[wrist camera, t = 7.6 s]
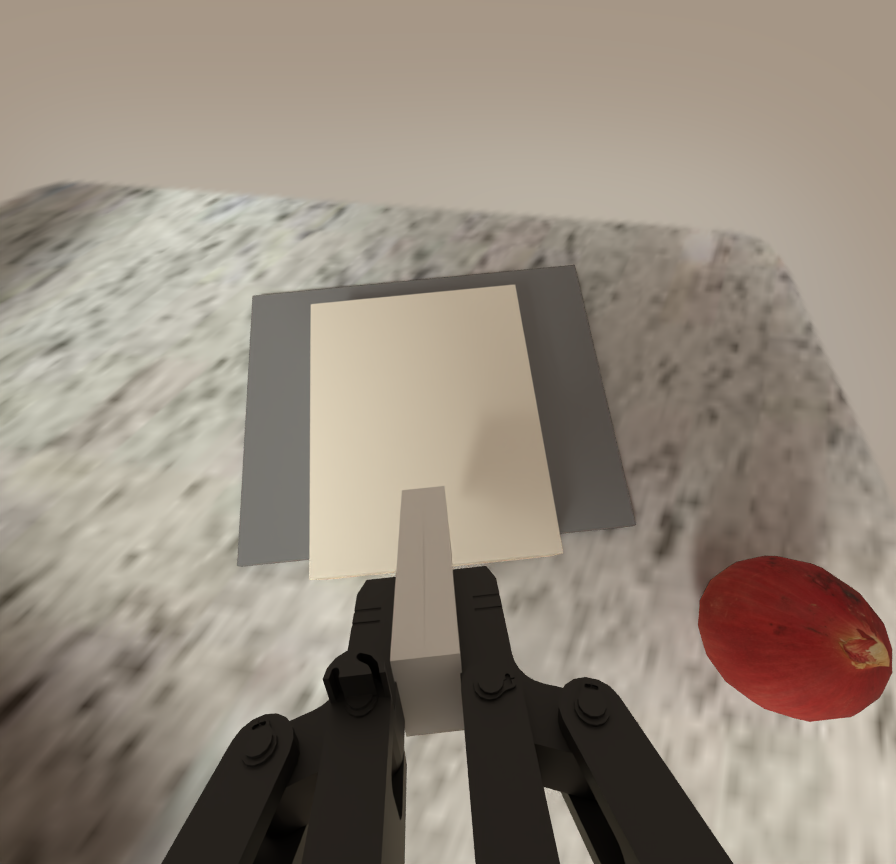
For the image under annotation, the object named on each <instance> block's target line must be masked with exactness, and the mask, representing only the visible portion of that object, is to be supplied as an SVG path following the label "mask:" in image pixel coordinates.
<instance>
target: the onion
mask: <svg viewBox="0 0 896 864" xmlns="http://www.w3.org/2000/svg"><path fill="white" fill-rule="evenodd" d="M698 627H699V631H700V634H701V638H702V641H703V645H704V648H705V651H706V654H707V656H708V658H709V659H710V660H711V662H712V663H713V665H714V666H715V667H716V669H717V670H718V672H719V673H720V674H721V676H722V677H723V678H724V680H725V681H726V682H727V683H728V684H730V685H731V686H733V687H734V688H735V689H737V690H738V691H739V692H741V693H742V694H743V695H745V696H746V697H747V698H749V699H750V700H751V701H753V702H755V703H756V704H758V705H759V706H761V707H763V708H764V709H767V710H770V711H773V712H776V713H780V714H783V715H786V716H789V717H792V718H796V719H800V720H805V721H809V722H812V721H820V720H828V719H837V718H846V717H852V716H854V715H855V714H857V713H859V712H861V711H862V710H863V709H865V708H866V707H867V706H869V705H870V704H872V703H873V702H874V701H876V700H877V699H879V698H880V696H881V695H882V693H883V691H884V689H885V687H886V685H887V683H888V680H889V678H890V676H891V674H892V647H891V644H890V641H889V638H888V635H887V631H886V628H885V625H884V623H883V622H882V620H881V619H880V618H879V617H878V615H877V614H876V613H875V612H874V610H873V609H872V608H871V607H870V605H869V604H868V603H867V602H866V600H865V599H864V598H863V597H862V595H861V594H860V593H859V592H857V591H856V590H854V589H853V588H852V587H850V586H849V585H847V584H846V583H844V582H843V581H841V580H840V579H838V578H837V577H835V576H834V575H832V574H831V573H829V572H828V571H826V570H825V569H823V568H821V567H819V566H816V565H814V564H811V563H807V562H802V561H797V560H792V559H788V558H783V557H778V556H761V557H756V558H752V559H747V560H743V561H738V562H736V563H734V564H732V565H731V566H729V567H728V568H726V569H725V570H724V571H722V572H721V573H719V574H718V575H717V576H715V577H714V578H713V579H711V580H710V582H709V584H708V586H707V588H706V589H705V591H704V593H703V595H702V597H701V599H700V606H699V619H698Z"/></svg>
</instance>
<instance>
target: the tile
mask: <svg viewBox="0 0 896 864" xmlns="http://www.w3.org/2000/svg"><path fill="white" fill-rule="evenodd" d="M438 486H445V494H446V504H447V513H448V522H449V531H450V541H451V550H452V561H453V566H463V565H472V564H482V563H492V562H501V561H511V560H520V559H530V558H539V557H549V556H554V555H558V554H562V553H563V549H562V543H561V537H560V532H559V526H558V521H557V515H556V510H555V504H554V498H553V493H552V487H551V482H550V476H549V471H548V465H547V459H546V454H545V448H544V443H543V437H542V432H541V426H540V420H539V415H538V409H537V404H536V398H535V393H534V387H533V381H532V376H531V370H530V365H529V359H528V353H527V348H526V342H525V337H524V331H523V326H522V320H521V314H520V309H519V303H518V298H517V292H516V287H515V285H504V286H494V287H484V288H473V289H463V290H453V291H442V292H432V293H422V294H411V295H401V296H391V297H380V298H370V299H360V300H349V301H339V302H328V303H318V304H311V338H310V546H309V580H329V579H338V578H348V577H358V576H367V575H377V574H386V573H396V567H397V553H398V538H399V524H400V510H401V495H402V490H409V489H419V488H428V487H438Z"/></svg>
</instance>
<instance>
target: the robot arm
mask: <svg viewBox="0 0 896 864" xmlns="http://www.w3.org/2000/svg"><path fill="white" fill-rule="evenodd" d="M352 624H353V626H352V628H351V634H350V640H349V646H348V651H346V652H344V653H343V654H341V655H340V656H338V657H337V658H335V660H334V661H333V662H332V663H331V664H330V665H329V667H328V668H327V670H326V672H325V675H324V677H323V682H324V685H325V688H326V691H327V694H328V697H329V700H328V701H327V702H326V703H325V704H323V705H322V706H320V707H319V708H317V709H315V710H313V711H311V712H309V713H307V714H305V715H302V716H300V717H298V718H296V719H293V720H291V721H289V720H288V719H287V717H284V716H282V715H280V714H265V715H263V716H260V717H258V718H256V719H253V720H252V721H251V722H249V723H248V724H247V725H246V726H244V727H243V728H242V729H241V730H240V731H239V732H238V734H237V735H236V736H235V738H234V739H233V740H232V742H231V743H230V745H229V747H228V749H227V750H226V752H225V754H224V756H223V757H222V759H221V761H220V763H219V764H218V766H217V768H216V770H215V771H214V773H213V775H212V776H211V778H210V780H209V782H208V783H207V785H206V787H205V789H204V790H203V792H202V794H201V796H200V797H199V799H198V801H197V803H196V804H195V806H194V808H193V810H192V811H191V813H190V815H189V817H188V818H187V820H186V822H185V823H184V825H183V827H182V829H181V830H180V832H179V834H178V836H177V837H176V839H175V841H174V843H173V844H172V846H171V848H170V850H169V851H168V853H167V855H166V857H165V858H164V860H163V862H162V864H404V863H405V819H406V775H407V763H406V757H405V751H404V732H406V736H415V735H424V734H433V733H442V732H451V731H460V730H465V742H466V754H467V766H468V778H469V790H470V802H471V814H472V826H473V838H474V850H475V862H476V864H560V861H559V857H558V852H557V847H556V843H555V838H554V833H553V829H552V824H551V820H550V815H549V810H548V806H547V801H546V796H545V792H544V787H546V788H550V789H553V790H557V791H560V792H561V793H562V796H563V798H564V800H565V802H566V804H567V806H568V809H569V811H570V813H571V815H572V817H573V819H574V822H575V824H576V826H577V828H578V830H579V833H580V835H581V837H582V839H583V841H584V843H585V846H586V848H587V850H588V852H589V854H590V856H591V859H592V861H593V863H594V864H733V862H732V861H731V859H730V858H729V856H728V855H727V854H726V852H725V851H724V849H723V848H722V846H721V845H720V843H719V842H718V840H717V839H716V837H715V836H714V834H713V833H712V832H711V830H710V829H709V827H708V826H707V824H706V823H705V821H704V820H703V818H702V817H701V815H700V814H699V812H698V811H697V810H696V808H695V807H694V805H693V804H692V802H691V801H690V799H689V798H688V796H687V795H686V793H685V792H684V790H683V789H682V788H681V786H680V785H679V783H678V782H677V780H676V779H675V777H674V776H673V774H672V773H671V771H670V770H669V768H668V767H667V766H666V764H665V763H664V761H663V760H662V758H661V757H660V755H659V754H658V752H657V751H656V749H655V748H654V746H653V745H652V744H651V742H650V741H649V739H648V738H647V736H646V735H645V733H644V732H643V730H642V729H641V727H640V726H639V724H638V723H637V722H636V720H635V719H634V717H633V716H632V714H631V713H630V711H629V710H628V708H627V707H626V705H625V704H624V702H623V701H622V700H621V698H620V697H619V696H618V695H617V693H616V692H615V691H614V690H613V689H612V688H611V687H610V686H608V685H607V684H605V683H603V682H601V681H600V680H597V679H592V678H588V677H583V678H577V679H573V680H572V681H570V682H569V683H567V684H566V685H565V686H564V687H563V688H561V687H557V686H552V685H547V684H543V683H540V682H537V681H534V680H533V679H531V678H529V677H528V676H526V675H525V674H524V673H523V672H522V671H521V670H520V669H519V668H518V666H517V665H516V663H515V661H514V658H513V655H512V651H511V647H510V642H509V637H508V633H507V628H506V623H505V618H504V614H503V609H502V604H501V599H500V596H499V590H498V585H497V581H496V578H495V576H494V575H493V574H492V573H491V571H490V570H489V569H488V568H487V566H482V567H472V568H463V569H454V570H453V561H452V550H451V541H450V531H449V522H448V513H447V504H446V494H445V486H438V487H428V488H419V489H409V490H402V495H401V510H400V524H399V538H398V553H397V567H396V577H390V578H381V579H372V580H366V582H365V583H364V585H363V586H362V588H361V589H360V591H359V593H358V594H357V599H356V605H355V613H354V616H353V622H352Z"/></svg>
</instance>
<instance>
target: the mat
mask: <svg viewBox="0 0 896 864" xmlns="http://www.w3.org/2000/svg"><path fill="white" fill-rule="evenodd" d="M504 285H515V287H516V292H517V298H518V303H519V309H520V314H521V320H522V326H523V331H524V337H525V342H526V348H527V353H528V359H529V365H530V370H531V376H532V381H533V387H534V393H535V398H536V404H537V409H538V415H539V420H540V426H541V432H542V437H543V443H544V448H545V454H546V459H547V465H548V471H549V476H550V482H551V487H552V493H553V498H554V504H555V510H556V515H557V521H558V526H559V532H560V534H562V533H572V532H581V531H591V530H601V529H610V528H620V527H630V526H635V525H636V522H635V518H634V514H633V510H632V505H631V501H630V497H629V493H628V489H627V484H626V480H625V476H624V472H623V467H622V463H621V459H620V455H619V451H618V446H617V442H616V438H615V434H614V429H613V425H612V421H611V417H610V412H609V408H608V404H607V400H606V396H605V391H604V387H603V383H602V379H601V374H600V370H599V366H598V362H597V357H596V353H595V349H594V345H593V341H592V336H591V332H590V328H589V324H588V319H587V315H586V311H585V307H584V303H583V298H582V294H581V290H580V286H579V281H578V277H577V273H576V269H575V265H569V266H559V267H548V268H538V269H527V270H517V271H507V272H496V273H486V274H475V275H465V276H454V277H444V278H433V279H423V280H413V281H402V282H392V283H381V284H371V285H360V286H350V287H339V288H329V289H319V290H308V291H298V292H287V293H277V294H266V295H256V296H253V298H252V316H251V333H250V351H249V368H248V385H247V403H246V420H245V438H244V455H243V473H242V490H241V507H240V525H239V542H238V560H237V566H241V567H243V566H252V565H262V564H272V563H281V562H291V561H301V560H309V546H310V338H311V304H318V303H328V302H339V301H349V300H360V299H370V298H380V297H391V296H401V295H411V294H422V293H432V292H442V291H453V290H463V289H473V288H484V287H494V286H504Z"/></svg>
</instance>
